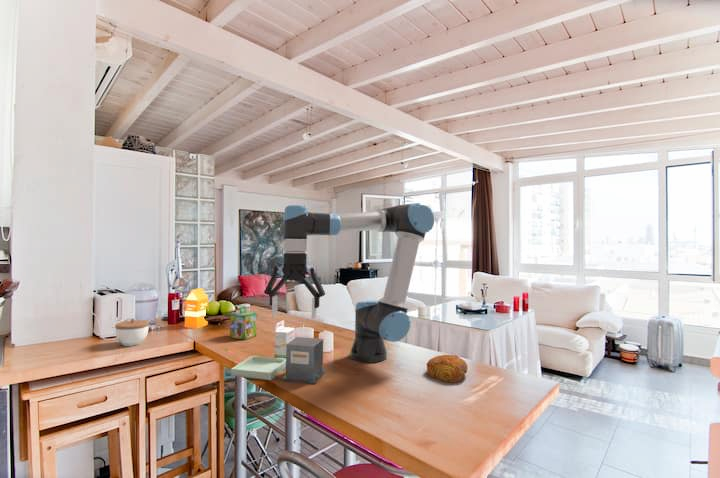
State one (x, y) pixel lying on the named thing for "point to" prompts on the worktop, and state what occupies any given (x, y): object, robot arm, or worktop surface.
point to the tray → (259, 367)
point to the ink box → (282, 339)
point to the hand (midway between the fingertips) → (294, 316)
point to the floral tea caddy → (243, 324)
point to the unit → (304, 360)
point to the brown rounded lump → (447, 368)
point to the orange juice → (196, 308)
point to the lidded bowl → (132, 332)
